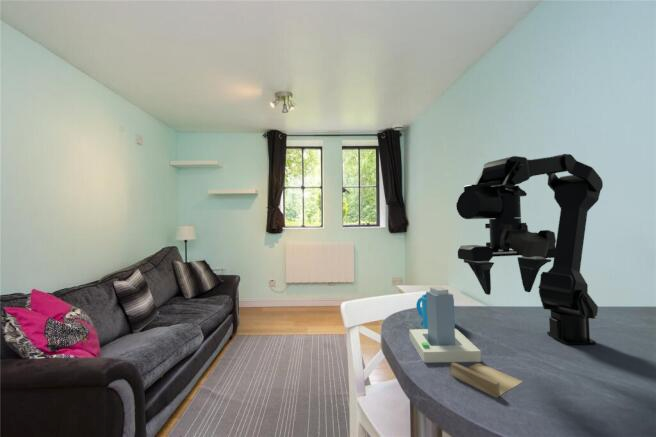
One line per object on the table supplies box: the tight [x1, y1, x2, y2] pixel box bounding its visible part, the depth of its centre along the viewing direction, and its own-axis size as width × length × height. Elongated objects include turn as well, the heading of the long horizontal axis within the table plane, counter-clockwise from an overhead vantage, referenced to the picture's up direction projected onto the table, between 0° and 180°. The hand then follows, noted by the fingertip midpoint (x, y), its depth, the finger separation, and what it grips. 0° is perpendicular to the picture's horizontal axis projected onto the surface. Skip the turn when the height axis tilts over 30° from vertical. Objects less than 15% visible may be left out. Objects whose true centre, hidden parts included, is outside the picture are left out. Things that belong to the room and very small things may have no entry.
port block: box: [408, 328, 482, 364], centre depth 62 cm, size 11×12×4 cm
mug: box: [415, 293, 456, 329], centre depth 79 cm, size 12×8×8 cm
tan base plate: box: [450, 362, 524, 398], centre depth 50 cm, size 8×8×3 cm
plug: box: [425, 286, 456, 346], centre depth 62 cm, size 4×4×14 cm
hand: (507, 293), depth 60 cm, fingers open, 9 cm apart
